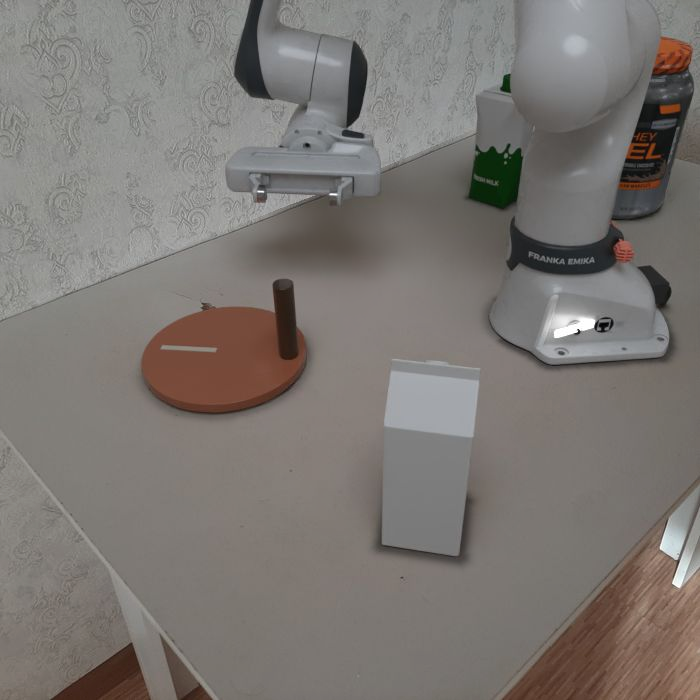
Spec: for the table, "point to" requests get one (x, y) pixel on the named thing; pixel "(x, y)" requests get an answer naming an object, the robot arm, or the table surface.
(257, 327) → the orange disc with rod
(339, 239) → the table surface
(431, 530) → the milk carton
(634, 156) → the supplement tub
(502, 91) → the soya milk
